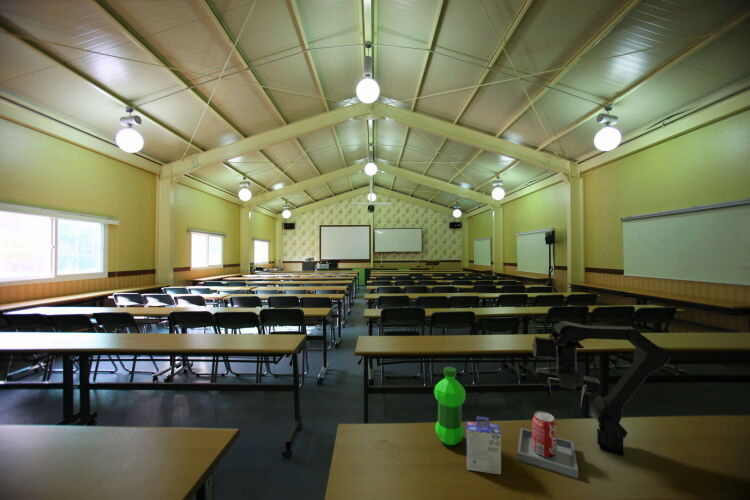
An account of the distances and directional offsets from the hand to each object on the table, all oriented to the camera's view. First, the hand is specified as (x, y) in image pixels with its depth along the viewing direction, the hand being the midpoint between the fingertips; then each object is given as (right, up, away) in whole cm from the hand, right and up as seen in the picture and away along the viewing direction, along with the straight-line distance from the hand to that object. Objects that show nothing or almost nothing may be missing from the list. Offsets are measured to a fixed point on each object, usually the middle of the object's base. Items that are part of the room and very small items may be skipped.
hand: (565, 403), depth 105 cm
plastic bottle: (-41, -13, 0) cm, 43 cm away
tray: (-11, -13, -7) cm, 18 cm away
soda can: (-11, -13, -7) cm, 18 cm away
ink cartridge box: (-33, -13, -12) cm, 38 cm away
